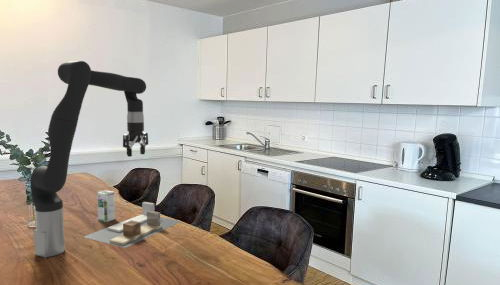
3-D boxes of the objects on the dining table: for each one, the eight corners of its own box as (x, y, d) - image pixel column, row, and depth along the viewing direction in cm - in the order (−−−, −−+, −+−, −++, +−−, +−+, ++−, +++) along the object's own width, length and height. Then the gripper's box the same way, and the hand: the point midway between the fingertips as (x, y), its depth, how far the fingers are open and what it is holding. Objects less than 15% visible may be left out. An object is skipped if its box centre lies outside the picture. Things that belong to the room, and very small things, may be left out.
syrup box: (97, 221, 177) (96, 192, 176) (107, 218, 182) (106, 189, 181) (105, 223, 175) (104, 193, 173) (115, 220, 180) (114, 191, 178)
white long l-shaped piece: (119, 232, 161) (118, 216, 161) (107, 229, 164) (107, 214, 164) (156, 217, 183) (155, 203, 182) (145, 215, 186) (144, 201, 185)
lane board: (125, 249, 145) (125, 247, 145) (82, 238, 156) (82, 236, 156) (181, 223, 177) (181, 221, 177) (142, 215, 188) (142, 213, 188)
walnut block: (132, 237, 153) (131, 225, 153) (123, 235, 155) (122, 223, 155) (140, 233, 158) (140, 222, 157) (131, 231, 160) (131, 220, 159)
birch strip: (122, 245, 147) (121, 228, 146) (109, 242, 150) (109, 225, 149) (161, 227, 169) (161, 212, 168) (150, 224, 172) (149, 210, 171)
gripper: (130, 122, 167) (131, 158, 169) (152, 120, 179) (152, 154, 181) (118, 121, 170) (119, 156, 172) (140, 120, 183) (140, 152, 185)
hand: (136, 155), depth 177 cm, fingers open, 8 cm apart
